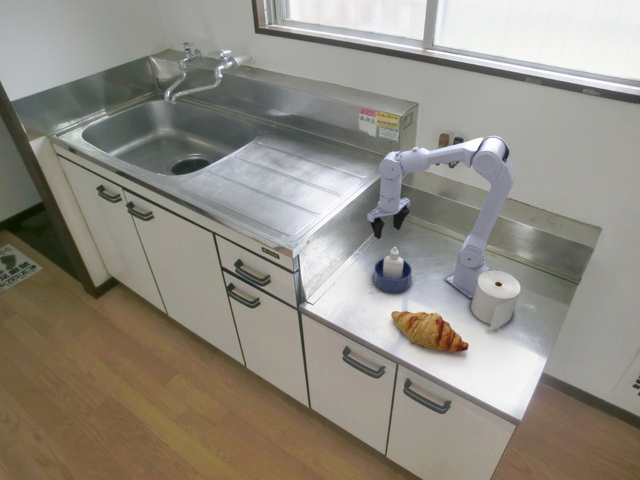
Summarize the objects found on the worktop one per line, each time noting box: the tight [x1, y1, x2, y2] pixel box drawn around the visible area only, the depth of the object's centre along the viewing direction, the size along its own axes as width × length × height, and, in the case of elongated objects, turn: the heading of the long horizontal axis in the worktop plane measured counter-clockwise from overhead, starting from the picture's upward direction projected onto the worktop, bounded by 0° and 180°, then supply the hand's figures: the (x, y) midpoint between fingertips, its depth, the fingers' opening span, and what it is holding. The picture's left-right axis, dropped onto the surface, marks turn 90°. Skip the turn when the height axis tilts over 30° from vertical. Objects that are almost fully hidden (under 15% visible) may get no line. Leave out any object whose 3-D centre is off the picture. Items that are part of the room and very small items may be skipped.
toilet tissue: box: [470, 269, 521, 332], centre depth 120 cm, size 11×12×10 cm
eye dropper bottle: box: [382, 246, 405, 280], centre depth 130 cm, size 4×6×12 cm
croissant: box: [390, 310, 470, 353], centre depth 116 cm, size 21×10×8 cm, turn 55°
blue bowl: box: [373, 257, 413, 294], centre depth 133 cm, size 10×10×5 cm
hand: (387, 232), depth 136 cm, fingers open, 7 cm apart
